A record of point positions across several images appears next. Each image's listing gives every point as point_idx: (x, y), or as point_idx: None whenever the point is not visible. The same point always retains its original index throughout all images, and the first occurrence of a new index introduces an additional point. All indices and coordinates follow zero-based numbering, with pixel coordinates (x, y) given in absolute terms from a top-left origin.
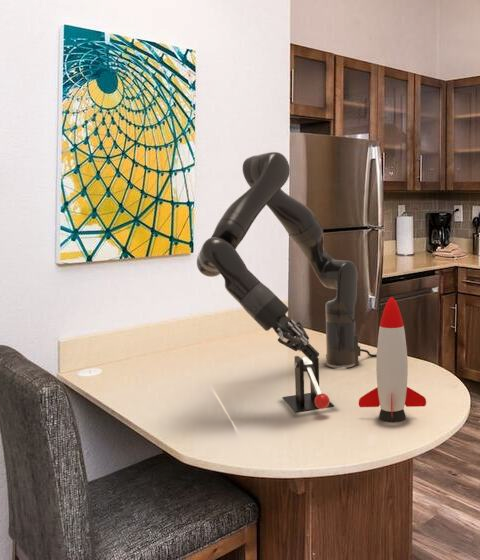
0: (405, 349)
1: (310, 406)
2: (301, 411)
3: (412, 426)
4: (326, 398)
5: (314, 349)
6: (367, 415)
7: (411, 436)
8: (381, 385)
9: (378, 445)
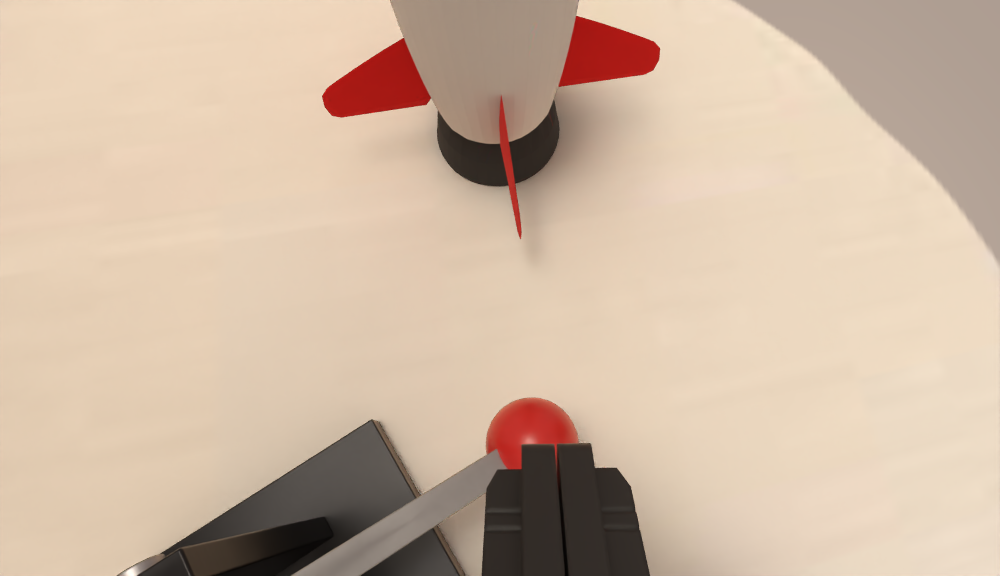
0: None
1: (395, 555)
2: None
3: None
4: (550, 408)
5: (542, 498)
6: (437, 245)
7: None
8: (562, 43)
9: (767, 146)
